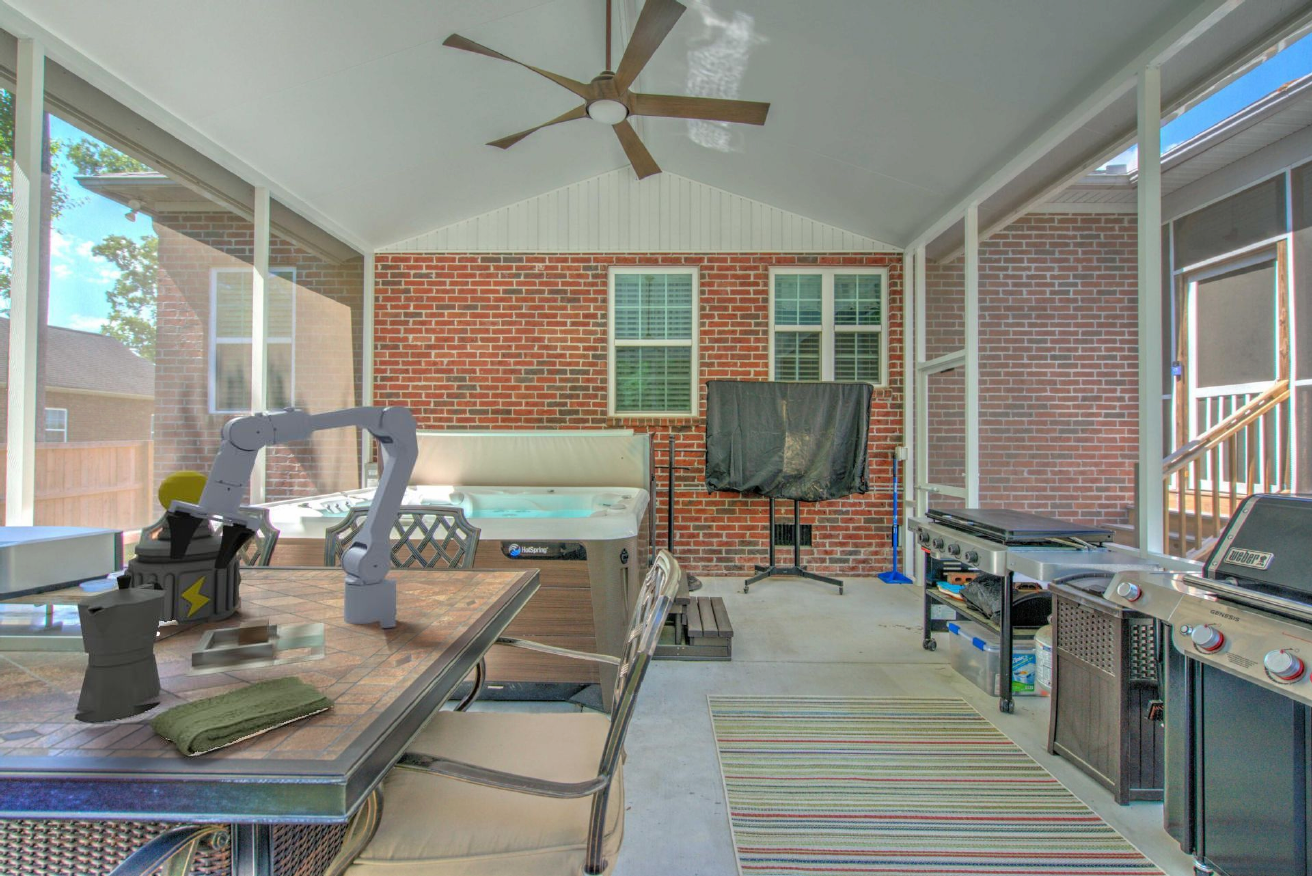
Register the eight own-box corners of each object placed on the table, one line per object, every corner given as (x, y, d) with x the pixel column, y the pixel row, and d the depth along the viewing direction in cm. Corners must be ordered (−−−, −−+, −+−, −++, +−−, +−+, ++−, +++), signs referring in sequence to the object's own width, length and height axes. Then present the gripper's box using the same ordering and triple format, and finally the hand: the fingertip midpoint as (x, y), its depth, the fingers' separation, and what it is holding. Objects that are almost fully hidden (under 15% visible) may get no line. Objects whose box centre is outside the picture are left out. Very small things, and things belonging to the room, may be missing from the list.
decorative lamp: (112, 618, 123) (116, 469, 123) (223, 601, 137) (227, 467, 137) (132, 639, 110) (137, 473, 111) (252, 618, 125) (256, 471, 125)
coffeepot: (131, 727, 77) (135, 584, 78) (41, 734, 75) (46, 587, 76) (193, 681, 92) (196, 561, 93) (120, 685, 90) (124, 563, 91)
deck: (323, 630, 118) (324, 612, 118) (324, 667, 99) (324, 646, 99) (209, 643, 110) (209, 623, 110) (185, 686, 90) (186, 663, 90)
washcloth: (340, 712, 84) (340, 688, 84) (186, 766, 69) (187, 738, 70) (292, 689, 91) (292, 667, 91) (144, 734, 77) (145, 708, 77)
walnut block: (268, 642, 106) (269, 619, 106) (266, 649, 103) (267, 625, 103) (240, 645, 104) (241, 621, 104) (238, 652, 101) (238, 628, 101)
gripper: (168, 471, 101) (136, 553, 98) (253, 490, 101) (224, 572, 98) (198, 478, 108) (169, 554, 105) (278, 495, 108) (251, 572, 105)
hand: (197, 563), depth 102 cm, fingers open, 7 cm apart
